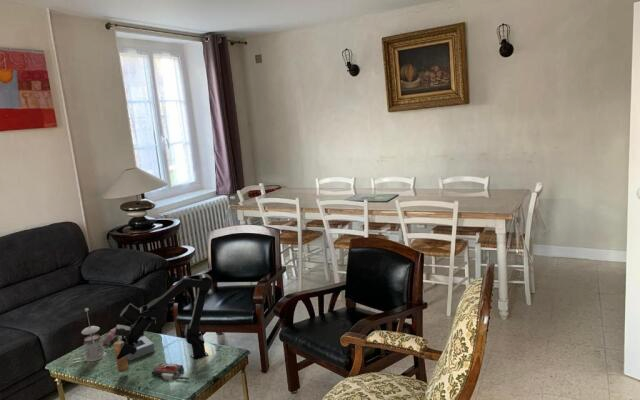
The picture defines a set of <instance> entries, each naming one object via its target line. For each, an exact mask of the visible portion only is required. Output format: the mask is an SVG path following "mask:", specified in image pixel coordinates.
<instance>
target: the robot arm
mask: <svg viewBox="0 0 640 400" xmlns="http://www.w3.org/2000/svg"><path fill="white" fill-rule="evenodd" d="M212 286H213V280H212V278H211V276H210V275H209V274H208V273H202V274H194V275H184V276H182V277H181V279H180V280H178V281H177V282H176V283H175V284H173V286H171V287H170V288H169V289H168V290H167V291H165V293H163V294H162V295H160V296H159V297H156V298H155V299H152V300H151V301H149V302H148V303H147V304H146V305H143V306H140V307H137V306H136V305H134V304H133V303H131V302H130V303H129V304H128V305H126V307H124V308H123V309H122V310H121V312H120V314H119V317H120V318H121V319H124V320H125V321H127V322H129V323H130V324H131V323H134V324H131V325H130V326H128V325H124V324H116V326H115V328H116V329H115V335H116V337H117V336H121V341H123V344H122V343H121V347H122V349H121V351H120V352H119V354H118V356H117V359H118V360H119V359H121V358H122V357H124V356H126V355H128V354H130V353H131V354H133V355H134V354H135V353H136V352H137V346H136V345H135V344H134V343H136V344H137V343H138V340H139V339H140V338H141V337H143V336H145V332H146V331H147V329H148V328H149V327H150V325H151V324H152V325H155V326H156V325H157V321H156V319H157V317H159V316H160V315H161V314H162V312H163V311H164V309H165V308H166V306H167V305H168V304H169V303H170V302H171V301H173V300H174V299H175V298H176V297H177V296H178V295H179V294H181V293H182V292H183V291H184V290H185V289H186V288H189V287H190V288H196V289H197V293H196V299H195V302H194V306H193V311H192V315H191V319H190V322H189V324H188V323H187V324H185V329H184V331H183V332H184V338H185V340H186V343H188V344H189V345H191V352H192V353H191V354H190V355H189V356H190V357H191V358H193V359H194V360H195V361H198V360H200V359H202V358H206V357H207V355H208V356H209V353H208V352H207V351H206V348H205V338H204V336H203V334H202V333H200V323H201V320H202V319H201V318H202V316H203V310H204V308H205V307H204V306H205V302H206V298H207V295H208V293H209V292H210V290H211V288H212Z"/></svg>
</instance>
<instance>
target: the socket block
mask: <svg viewBox="0 0 640 400" xmlns="http://www.w3.org/2000/svg"><path fill="white" fill-rule="evenodd" d="M134 344H135V345H136V346H137V352H136V353H135V354H134V355H133V354H131V353H130V354H128V355H126V356H127V360H128V361H133V360H135V359H139V358H140V357H143V356H145V355H148V354H150V353H153V352H155V345H154V342H152V341H151V339H149V338H148V337H147V336H145V335H143V336H141V337H140V339H139V340H138V343H137V344H136V343H134Z"/></svg>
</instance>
